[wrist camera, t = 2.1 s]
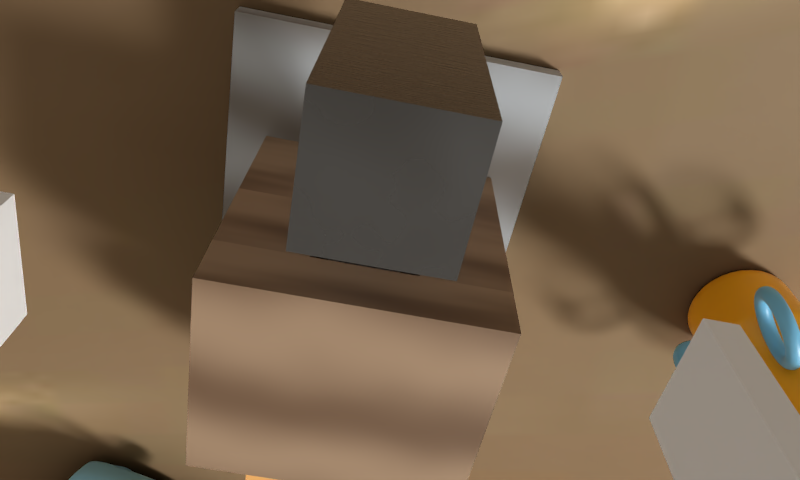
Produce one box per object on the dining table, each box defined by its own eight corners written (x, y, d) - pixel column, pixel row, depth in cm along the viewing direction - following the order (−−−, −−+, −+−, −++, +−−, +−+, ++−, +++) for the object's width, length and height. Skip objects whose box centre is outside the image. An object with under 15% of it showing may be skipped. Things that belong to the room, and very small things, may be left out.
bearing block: (239, 6, 33) (132, 108, 21) (559, 70, 34) (633, 202, 22) (216, 371, 45) (140, 567, 33) (450, 409, 46) (459, 612, 34)
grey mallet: (346, -3, 25) (305, 83, 17) (476, 24, 25) (502, 121, 17) (279, 461, 39) (238, 641, 30) (365, 475, 39) (349, 656, 30)
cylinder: (608, 354, 43) (686, 576, 30) (677, 216, 38) (807, 413, 25) (786, 388, 44) (934, 616, 31) (877, 258, 39) (1100, 468, 26)
